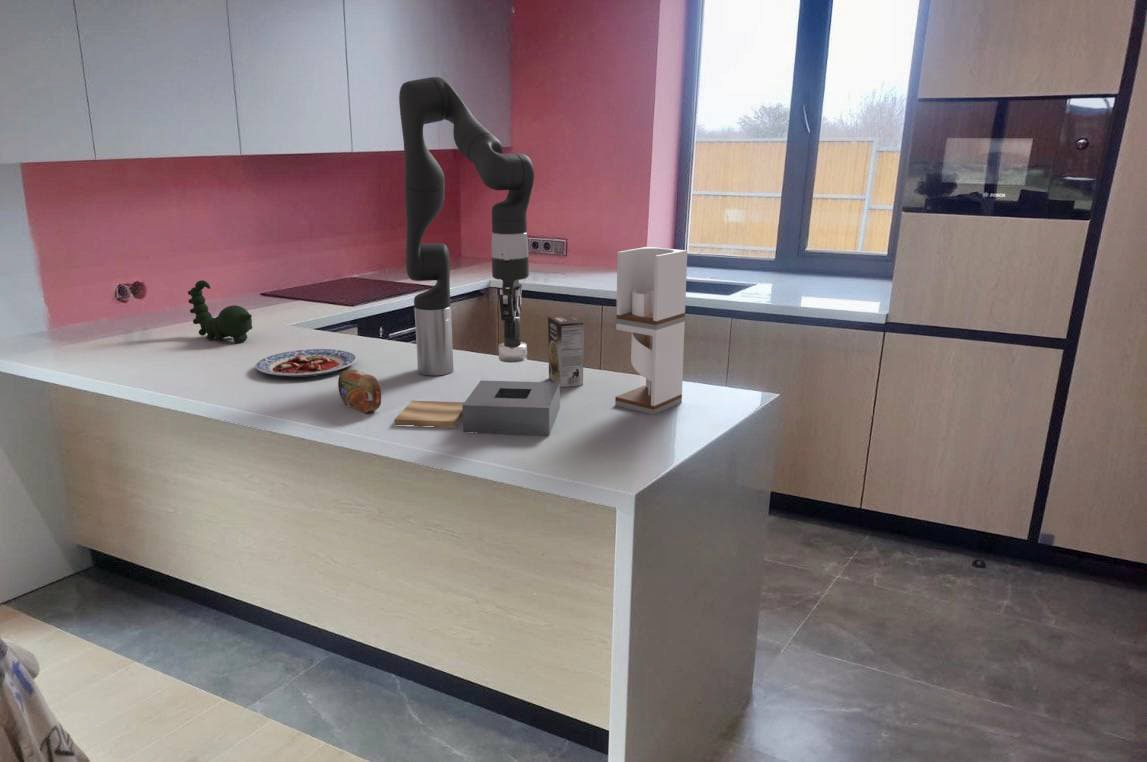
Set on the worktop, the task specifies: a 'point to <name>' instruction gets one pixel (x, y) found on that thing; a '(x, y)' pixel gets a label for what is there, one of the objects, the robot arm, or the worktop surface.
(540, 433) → the housing
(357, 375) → the tin
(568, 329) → the coffee box
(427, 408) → the oak pad
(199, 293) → the toy figurine
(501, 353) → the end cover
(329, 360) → the ceramic plate
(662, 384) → the white shelf stand
